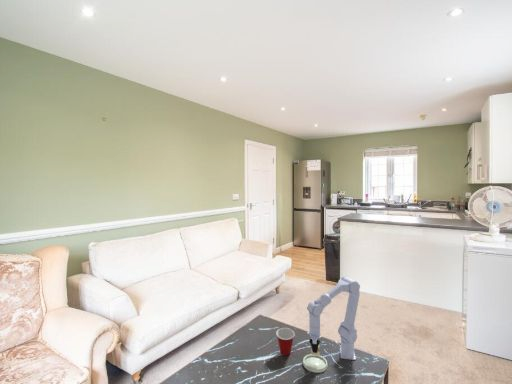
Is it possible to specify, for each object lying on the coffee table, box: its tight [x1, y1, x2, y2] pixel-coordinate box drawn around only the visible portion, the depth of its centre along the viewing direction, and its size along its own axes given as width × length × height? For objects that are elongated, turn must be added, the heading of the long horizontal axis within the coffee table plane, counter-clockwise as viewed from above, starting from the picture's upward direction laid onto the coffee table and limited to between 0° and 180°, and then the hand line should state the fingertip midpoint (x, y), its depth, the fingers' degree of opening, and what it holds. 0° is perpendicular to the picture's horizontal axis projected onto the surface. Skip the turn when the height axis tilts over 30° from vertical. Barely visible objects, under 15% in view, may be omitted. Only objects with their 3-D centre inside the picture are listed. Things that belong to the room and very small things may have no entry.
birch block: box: [310, 344, 321, 356], centre depth 148 cm, size 4×4×4 cm
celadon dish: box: [302, 353, 328, 374], centre depth 149 cm, size 13×13×2 cm
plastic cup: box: [275, 327, 296, 356], centre depth 159 cm, size 11×11×12 cm
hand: (314, 349), depth 148 cm, fingers closed on birch block, 4 cm apart
